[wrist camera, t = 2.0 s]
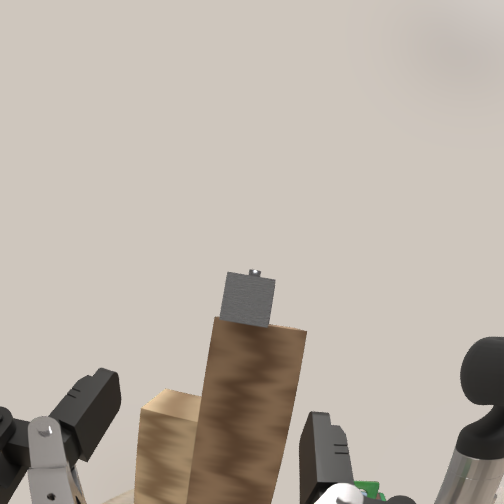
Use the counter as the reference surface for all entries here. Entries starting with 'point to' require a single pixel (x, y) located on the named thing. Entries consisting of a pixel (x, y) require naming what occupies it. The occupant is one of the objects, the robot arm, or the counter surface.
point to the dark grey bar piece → (247, 299)
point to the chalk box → (370, 489)
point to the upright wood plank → (223, 422)
